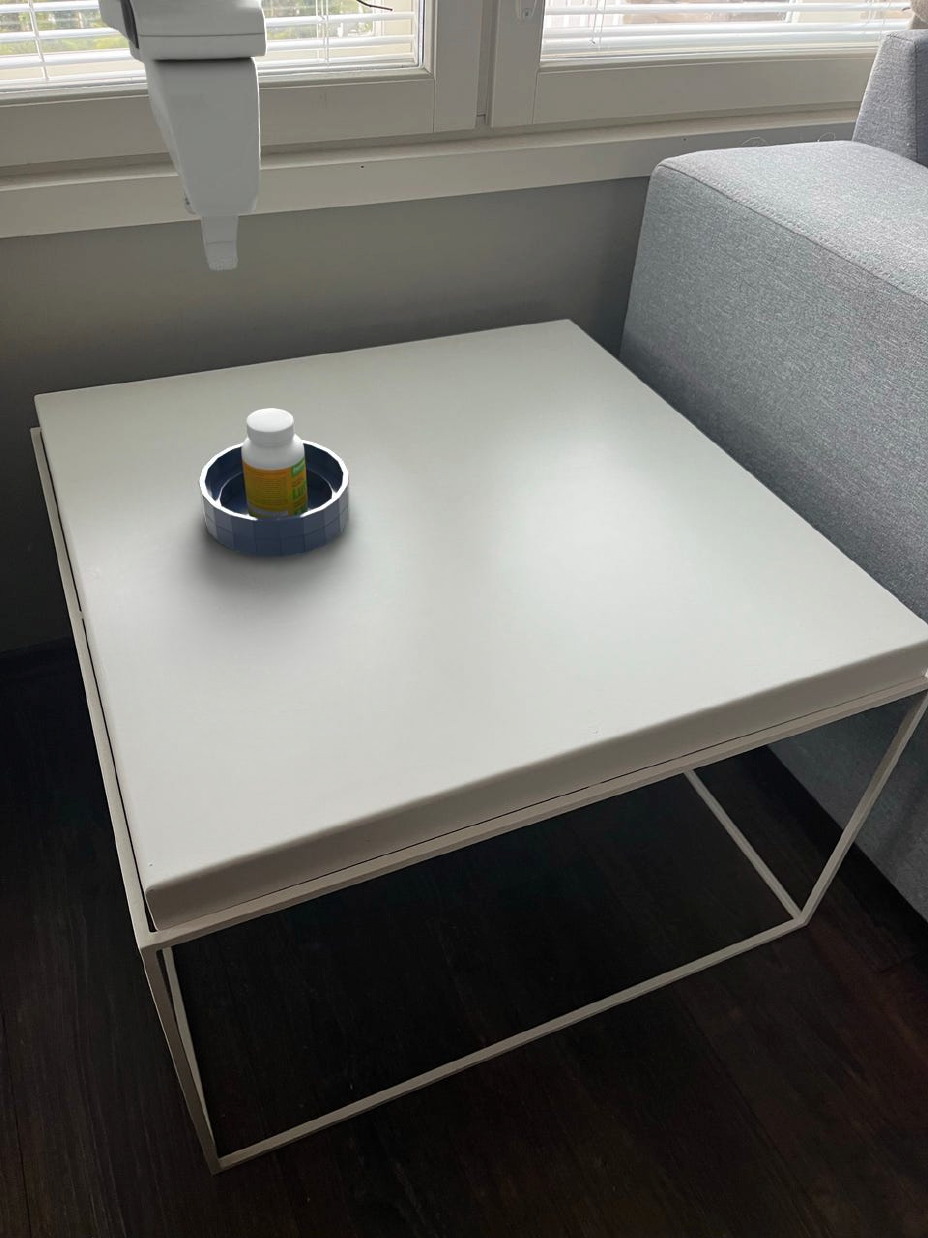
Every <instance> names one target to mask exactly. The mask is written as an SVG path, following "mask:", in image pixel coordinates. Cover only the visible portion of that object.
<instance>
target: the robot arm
mask: <svg viewBox="0 0 928 1238" xmlns="http://www.w3.org/2000/svg"><path fill="white" fill-rule="evenodd" d="M97 2H98V8H99V14H100V19H101V21H102V23H103V24H104V25H106V26H107V27H108V28H110V29H113V30H114V31H118V32H119V33H120V34H121V35H122V36H123V37H124V38H125V39H126V40H128V48H129V55H130V56H131V57H132V58H133V59H135V60H137V61H138V62H140V63H143V65H144V71H145V78H146V86H147V92H148V97H149V105H150V108H151V111H152V114H153V117H154V121H155V122H156V125H157V127H158V130H159V132H160V134H161V137H162V139H163V142H164V144H165V146H166V150H167V152H168V154H169V156H170V158H171V161H172V163H173V166H174V169H175V172H176V174H177V176H178V178H179V182H180V190H181V197H182V202H183V204H184V207H185V210H186V211H187V212H188V213H189V214H190V215H196V216H197V217H199V218H200V224H201V230H202V233H201V235H202V236H201V238H202V243H203V251H204V257H205V260H206V263H207V264H208V267H209V268H210V270H212V271H214V272H217V271H230V270H233V269H235V268H237V267H238V264H239V258H238V248H237V235H238V224H239V215H248V214H252V213H254V212H255V211H256V209H257V206H258V202H259V196H260V189H261V128H260V126H261V125H260V124H261V123H260V121H261V120H260V89H259V76H258V75H259V74H258V68H257V63H256V59H255V58H260V57H261V58H262V57H265V56H266V55H267V52H268V39H267V38H268V37H267V27H266V18H265V14H264V9H263V6H262V0H97Z"/></svg>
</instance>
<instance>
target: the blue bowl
mask: <svg viewBox="0 0 928 1238" xmlns="http://www.w3.org/2000/svg"><path fill="white" fill-rule="evenodd" d="M301 441H302V443H303V446H304V454H305V468H306V483H307V500H308V512H305V513H303V514H299V515H293V516H287V517H281V518H260V517H251V516H250V515H249V512H248V506H247V497H246V488H245V479H244V471H243V463H242V445H243V442H241V443H238V444H234V445H231V446H229V447H227V448H225V449H224V450H222V451H220V452H219V453H217V454H215V455H214V456H212V457H211V458H210V460H209V461H208V462H207V463H206V464H205V465H204V466H203V467H202V469H201V471H200V472H201V473H200V476H199V479H198V489H199V494H200V500H201V507H202V513H203V518H204V522H205V526H206V530H207V531H208V532H209V534H210V535H211V536H212V537H213V538H214V539H215V540H216V541H217V542H218V543H219V544H221V545H223V546H225V547H227V548H229V549H230V550H232V551H234V552H237V553H240V554H245V555H250V556H253V557H258V558H261V557H262V558H263V557H264V558H284V557H290V556H295V555H301V554H307V553H309V552H312V551H314V550H317V549H319V548H322V547H324V546H326V545H327V544H329V542H331V541H332V540H334V539H335V538H337V537H338V536H339V535H340V534H341V533H342V531H343V530H344V528H345V527H346V526H347V524H348V522H349V521H350V520H349V519H350V511H351V510H350V509H351V499H350V497H351V496H350V495H351V494H350V473H349V470H348V468H347V466H346V464H345V462H344V460H343V459H342V458H341V457H340V456H339V455H337V454H336V453H335V452H334V451H332V450H331V449H330V448H327V447H326V446H324V445H323V446H322V445H321V444H318V443H316V442H314V441H308V440H304V439H301Z"/></svg>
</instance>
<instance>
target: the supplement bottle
mask: <svg viewBox="0 0 928 1238" xmlns="http://www.w3.org/2000/svg"><path fill="white" fill-rule="evenodd" d="M245 423H246V434H247V437H246V438H245V439H244V441H243V442H242V443H243V445H242V463H243V471H244V479H245V488H246V497H247V506H248V512H249V515H250V516H251V517H260V518H281V517H287V516H293V515H299V514H303V513H305V512H308V500H307V483H306V468H305V454H304V446H303V443H302V441H301V440H302V438H300V437H299V436H298V435H297V434H296V431H295V430H296V429H295V420H294V417H293V414H291V413H289V412H288V411H287V410H283V409H280V408H274V407H273V408H268V407H267V408H262V409H261V408H260V409H258V410H255V411H253V412H251V413H250V414H249V415H247V418H246V421H245Z"/></svg>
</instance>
